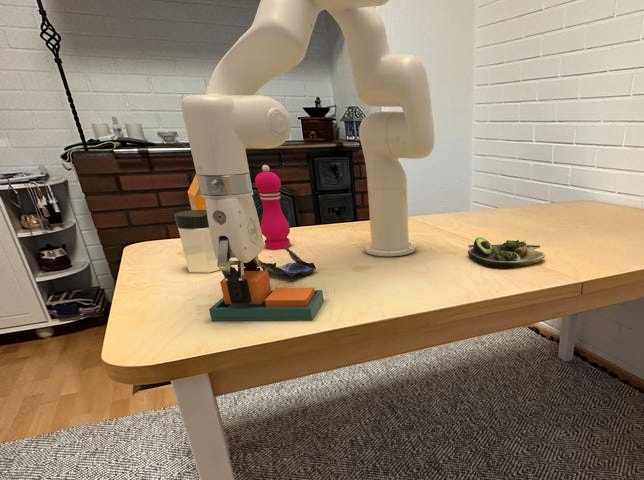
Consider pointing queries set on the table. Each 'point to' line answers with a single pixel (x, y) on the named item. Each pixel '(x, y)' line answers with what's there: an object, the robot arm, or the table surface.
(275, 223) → the pepper mill
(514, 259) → the salad plate
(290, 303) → the fitted pad
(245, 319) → the tray
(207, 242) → the jar
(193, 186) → the orange juice
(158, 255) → the table surface
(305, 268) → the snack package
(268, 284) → the orange block
